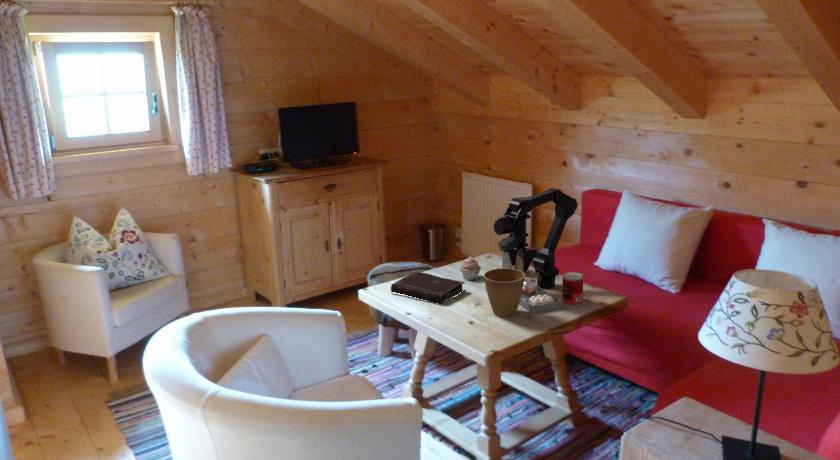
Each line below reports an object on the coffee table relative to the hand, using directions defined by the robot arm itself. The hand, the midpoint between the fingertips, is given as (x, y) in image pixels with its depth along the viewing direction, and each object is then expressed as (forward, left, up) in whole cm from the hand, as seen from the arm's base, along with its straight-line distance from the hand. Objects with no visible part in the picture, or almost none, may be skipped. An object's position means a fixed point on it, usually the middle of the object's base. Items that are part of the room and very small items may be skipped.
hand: (518, 268), depth 261 cm
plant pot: (+14, +16, -12) cm, 24 cm away
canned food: (-15, +15, -12) cm, 24 cm away
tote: (-1, +9, -11) cm, 15 cm away
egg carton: (-1, +16, -11) cm, 19 cm away
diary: (+31, -19, -12) cm, 39 cm away
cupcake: (+9, -28, -12) cm, 32 cm away
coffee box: (-11, -27, -12) cm, 32 cm away
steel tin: (-1, +5, -11) cm, 12 cm away
